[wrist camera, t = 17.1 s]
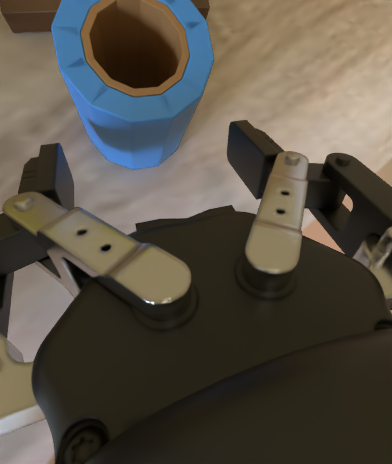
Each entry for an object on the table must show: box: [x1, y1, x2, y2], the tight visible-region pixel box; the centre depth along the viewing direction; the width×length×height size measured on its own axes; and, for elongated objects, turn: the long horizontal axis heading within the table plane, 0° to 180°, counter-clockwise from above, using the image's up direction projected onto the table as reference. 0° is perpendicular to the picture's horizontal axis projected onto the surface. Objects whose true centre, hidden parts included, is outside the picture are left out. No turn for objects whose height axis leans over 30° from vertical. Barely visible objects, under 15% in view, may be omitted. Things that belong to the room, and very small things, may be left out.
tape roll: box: [51, 0, 214, 169], centre depth 14 cm, size 6×6×8 cm
